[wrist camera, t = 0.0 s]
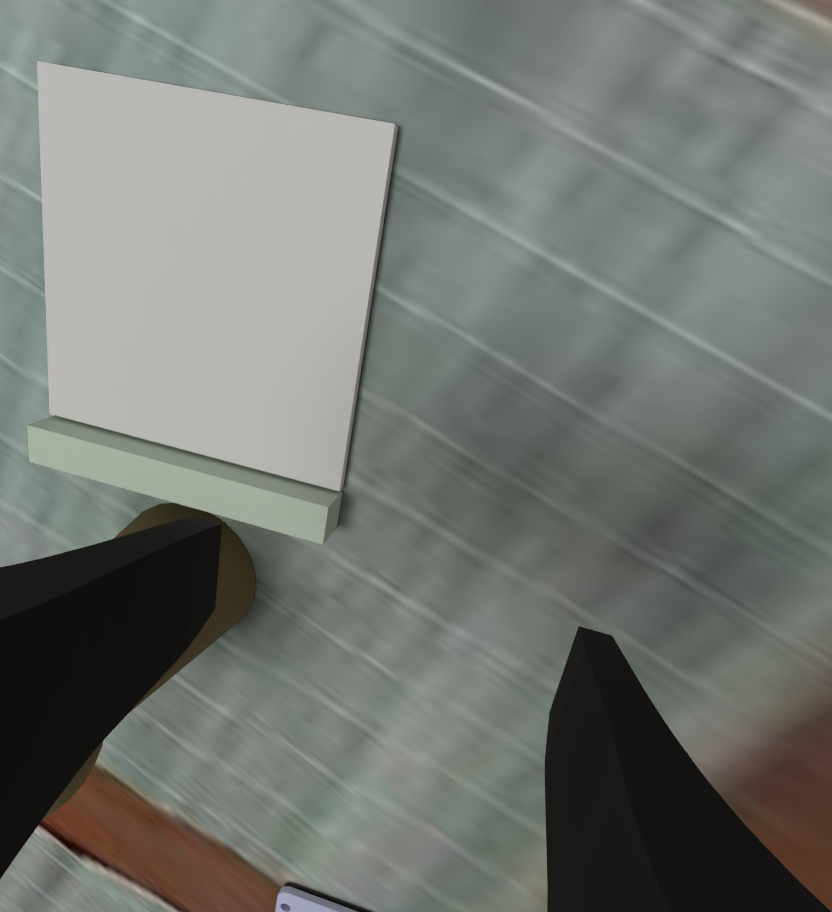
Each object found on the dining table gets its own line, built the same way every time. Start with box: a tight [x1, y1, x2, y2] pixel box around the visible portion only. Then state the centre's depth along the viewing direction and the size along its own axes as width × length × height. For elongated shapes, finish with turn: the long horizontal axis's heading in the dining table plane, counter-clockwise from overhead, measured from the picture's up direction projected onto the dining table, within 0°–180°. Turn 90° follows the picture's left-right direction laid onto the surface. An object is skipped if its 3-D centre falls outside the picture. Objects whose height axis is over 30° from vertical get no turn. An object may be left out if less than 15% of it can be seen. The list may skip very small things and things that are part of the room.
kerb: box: [27, 415, 343, 545], centre depth 23 cm, size 2×12×2 cm, turn 79°
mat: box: [37, 61, 398, 492], centre depth 21 cm, size 12×12×1 cm
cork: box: [42, 503, 256, 820], centre depth 21 cm, size 6×6×11 cm
